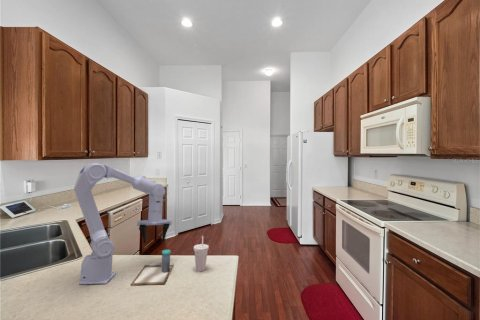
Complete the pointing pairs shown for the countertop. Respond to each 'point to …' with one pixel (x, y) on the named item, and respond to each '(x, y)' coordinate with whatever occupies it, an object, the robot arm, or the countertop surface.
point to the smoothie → (200, 256)
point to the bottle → (166, 260)
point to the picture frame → (152, 275)
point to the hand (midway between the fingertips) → (154, 241)
